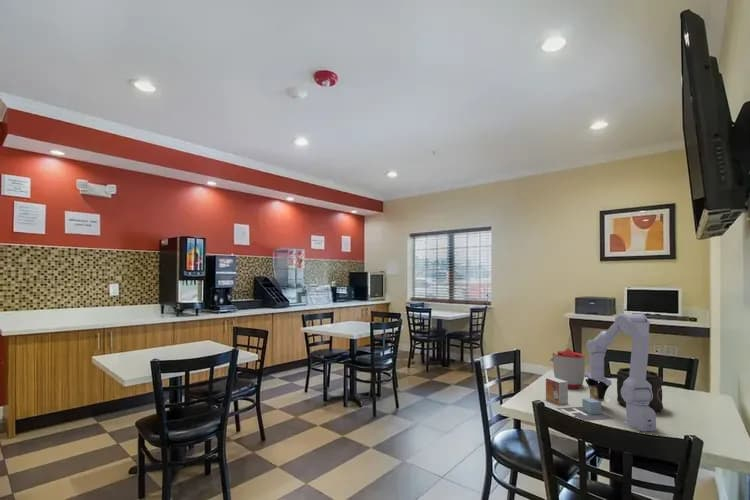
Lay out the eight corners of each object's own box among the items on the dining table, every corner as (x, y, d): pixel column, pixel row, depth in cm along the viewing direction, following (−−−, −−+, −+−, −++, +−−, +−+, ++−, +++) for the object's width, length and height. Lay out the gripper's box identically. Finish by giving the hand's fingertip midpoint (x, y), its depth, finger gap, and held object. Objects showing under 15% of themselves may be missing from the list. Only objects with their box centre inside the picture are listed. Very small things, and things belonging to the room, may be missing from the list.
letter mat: (614, 420, 157) (614, 418, 157) (580, 422, 154) (580, 421, 154) (587, 407, 171) (587, 406, 172) (556, 409, 169) (556, 408, 169)
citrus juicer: (558, 379, 217) (557, 344, 219) (590, 386, 204) (589, 349, 205) (544, 384, 208) (544, 347, 209) (578, 392, 194) (577, 352, 195)
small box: (545, 400, 181) (545, 377, 182) (554, 399, 183) (554, 376, 183) (559, 405, 173) (558, 382, 174) (568, 404, 175) (568, 381, 176)
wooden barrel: (653, 402, 180) (652, 368, 181) (671, 416, 162) (670, 378, 163) (610, 398, 185) (609, 365, 186) (623, 411, 167) (622, 375, 168)
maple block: (604, 401, 172) (603, 387, 172) (596, 401, 171) (596, 388, 171) (597, 398, 175) (597, 385, 176) (589, 399, 175) (589, 385, 175)
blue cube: (601, 413, 162) (601, 401, 163) (591, 414, 162) (590, 402, 162) (592, 409, 167) (592, 398, 168) (582, 410, 166) (582, 398, 167)
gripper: (577, 363, 180) (578, 392, 180) (601, 371, 166) (602, 402, 165) (590, 362, 182) (591, 391, 181) (615, 370, 168) (616, 402, 167)
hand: (597, 397), depth 173 cm, fingers closed on maple block, 4 cm apart
